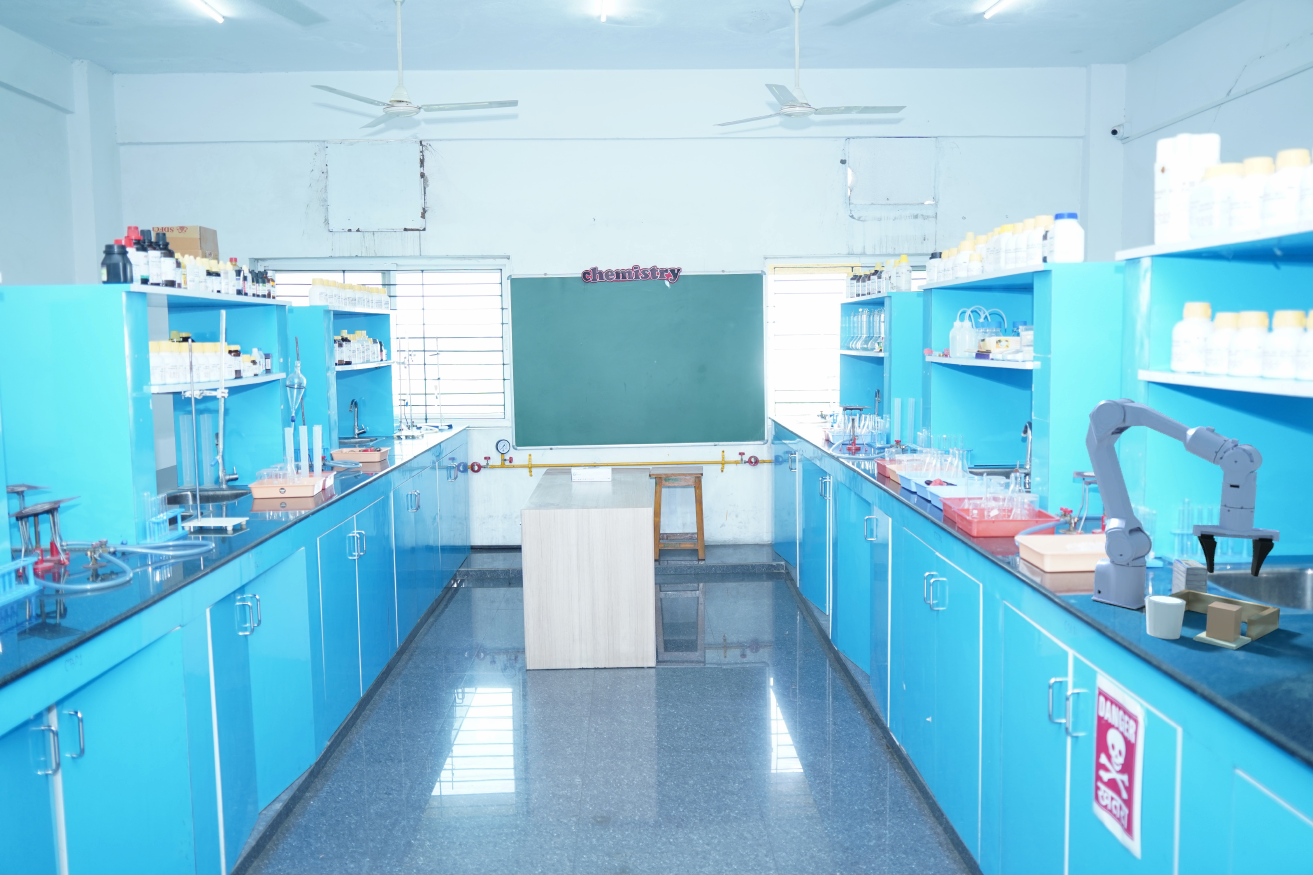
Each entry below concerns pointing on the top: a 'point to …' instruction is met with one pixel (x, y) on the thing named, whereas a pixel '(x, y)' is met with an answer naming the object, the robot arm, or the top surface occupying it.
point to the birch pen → (1253, 614)
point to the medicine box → (1189, 576)
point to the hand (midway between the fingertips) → (1232, 573)
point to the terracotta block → (1224, 621)
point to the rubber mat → (1222, 641)
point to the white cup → (1164, 616)
